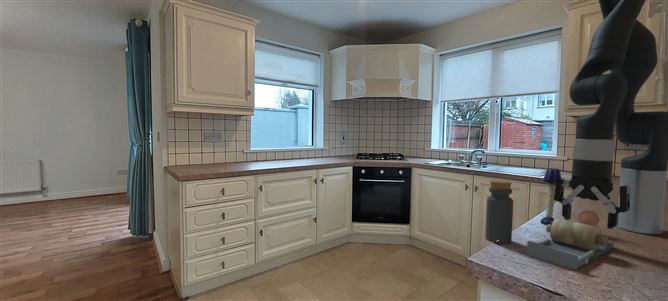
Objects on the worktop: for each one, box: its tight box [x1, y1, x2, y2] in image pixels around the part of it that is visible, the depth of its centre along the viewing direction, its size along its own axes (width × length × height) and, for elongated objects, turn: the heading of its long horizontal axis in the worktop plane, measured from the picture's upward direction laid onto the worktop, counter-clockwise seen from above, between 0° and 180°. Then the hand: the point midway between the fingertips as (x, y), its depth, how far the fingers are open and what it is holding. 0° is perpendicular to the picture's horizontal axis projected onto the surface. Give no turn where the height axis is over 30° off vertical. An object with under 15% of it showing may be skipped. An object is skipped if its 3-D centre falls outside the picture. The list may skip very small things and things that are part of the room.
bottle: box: [484, 179, 514, 245], centre depth 77 cm, size 6×6×15 cm
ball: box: [577, 209, 600, 226], centre depth 76 cm, size 4×4×4 cm
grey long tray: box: [526, 238, 615, 271], centre depth 71 cm, size 23×9×3 cm, turn 124°
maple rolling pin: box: [545, 217, 609, 252], centre depth 71 cm, size 11×6×6 cm, turn 34°
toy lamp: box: [540, 167, 562, 226], centre depth 91 cm, size 5×5×17 cm
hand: (587, 223), depth 76 cm, fingers open, 8 cm apart
